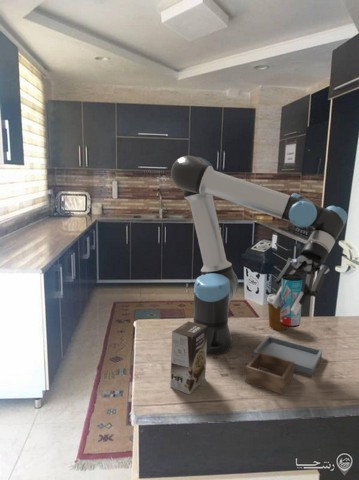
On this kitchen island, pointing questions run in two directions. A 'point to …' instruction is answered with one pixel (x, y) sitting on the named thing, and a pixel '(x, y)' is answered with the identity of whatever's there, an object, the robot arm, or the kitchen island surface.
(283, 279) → the beverage can
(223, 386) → the kitchen island surface
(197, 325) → the coffee box
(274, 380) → the walnut holder
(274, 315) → the disposable coffee cup
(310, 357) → the grey tray
